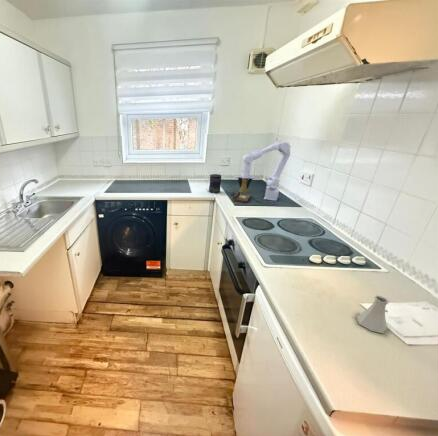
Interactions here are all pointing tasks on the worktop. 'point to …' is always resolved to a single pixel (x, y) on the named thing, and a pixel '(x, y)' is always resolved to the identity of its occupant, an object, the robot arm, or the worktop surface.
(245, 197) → the shelf
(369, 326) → the flask
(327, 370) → the worktop surface
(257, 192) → the worktop surface
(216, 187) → the storage jar
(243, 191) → the olive door knob
